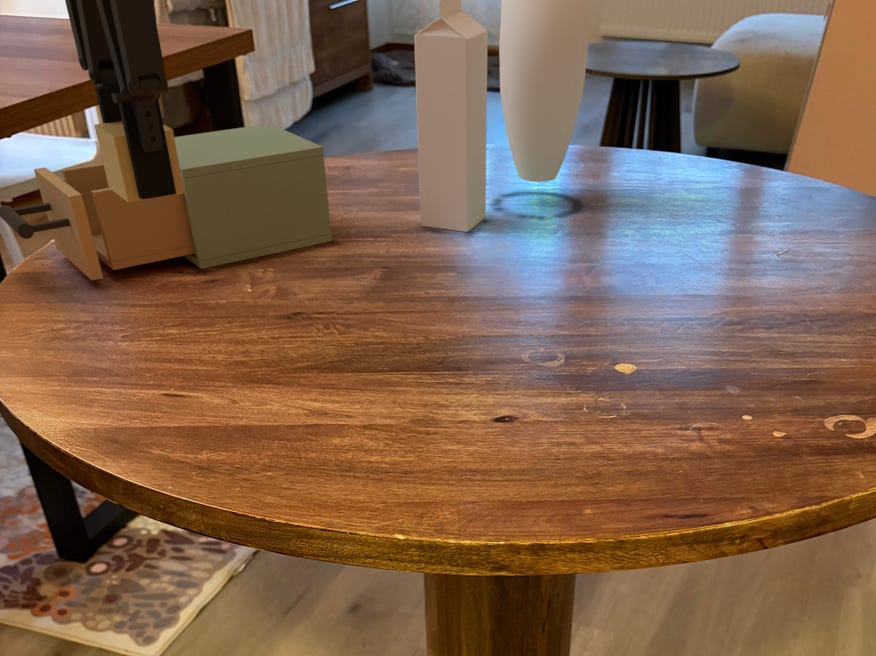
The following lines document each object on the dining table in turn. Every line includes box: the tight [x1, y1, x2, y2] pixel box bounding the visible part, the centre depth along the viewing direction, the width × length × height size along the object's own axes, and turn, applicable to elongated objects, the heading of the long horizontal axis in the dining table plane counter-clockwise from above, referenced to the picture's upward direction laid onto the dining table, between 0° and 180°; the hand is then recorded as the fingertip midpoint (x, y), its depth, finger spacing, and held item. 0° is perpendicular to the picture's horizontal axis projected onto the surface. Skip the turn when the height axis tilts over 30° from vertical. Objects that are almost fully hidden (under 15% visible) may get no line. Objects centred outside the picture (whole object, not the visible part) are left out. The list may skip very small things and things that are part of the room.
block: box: [93, 121, 185, 203], centre depth 70 cm, size 4×4×4 cm
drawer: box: [0, 162, 195, 281], centre depth 94 cm, size 19×11×8 cm, turn 126°
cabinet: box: [174, 123, 333, 270], centre depth 100 cm, size 16×13×10 cm
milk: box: [413, 0, 488, 233], centre depth 101 cm, size 6×6×22 cm
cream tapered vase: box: [498, 0, 591, 183], centre depth 107 cm, size 10×10×22 cm
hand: (145, 186), depth 72 cm, fingers closed on block, 4 cm apart
